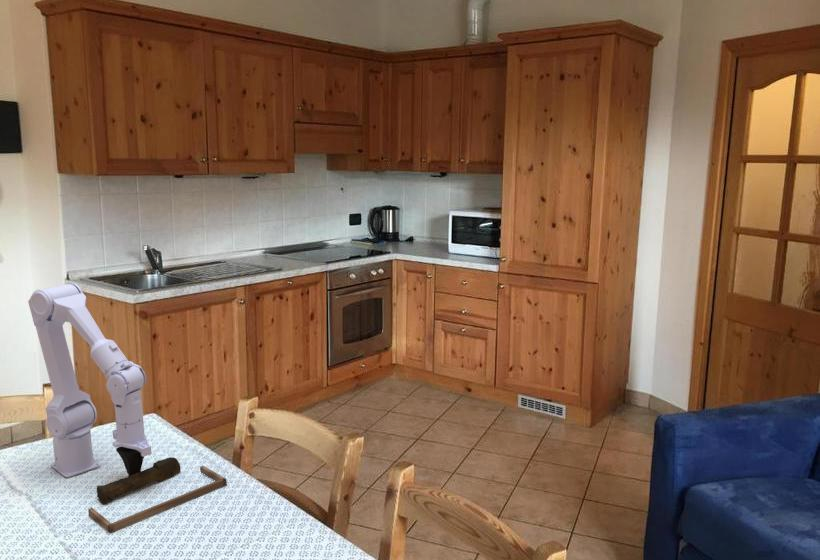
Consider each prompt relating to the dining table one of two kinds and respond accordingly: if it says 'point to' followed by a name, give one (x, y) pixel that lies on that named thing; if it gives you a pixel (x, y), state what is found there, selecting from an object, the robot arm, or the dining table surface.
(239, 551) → the dining table surface
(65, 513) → the dining table surface
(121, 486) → the hand tool
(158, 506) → the tool bay
